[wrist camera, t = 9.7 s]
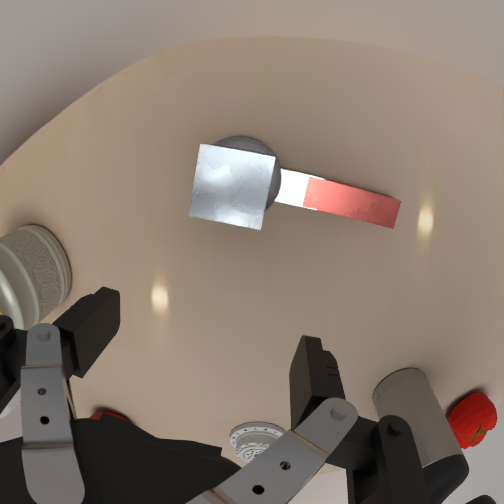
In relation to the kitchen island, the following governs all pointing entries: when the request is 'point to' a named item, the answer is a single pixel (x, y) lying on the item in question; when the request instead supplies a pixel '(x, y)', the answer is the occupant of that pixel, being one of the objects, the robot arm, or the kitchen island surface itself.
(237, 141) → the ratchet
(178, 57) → the kitchen island surface
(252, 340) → the kitchen island surface
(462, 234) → the kitchen island surface
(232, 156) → the brushed metal cube
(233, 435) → the mechanical component
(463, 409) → the tomato
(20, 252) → the jar
